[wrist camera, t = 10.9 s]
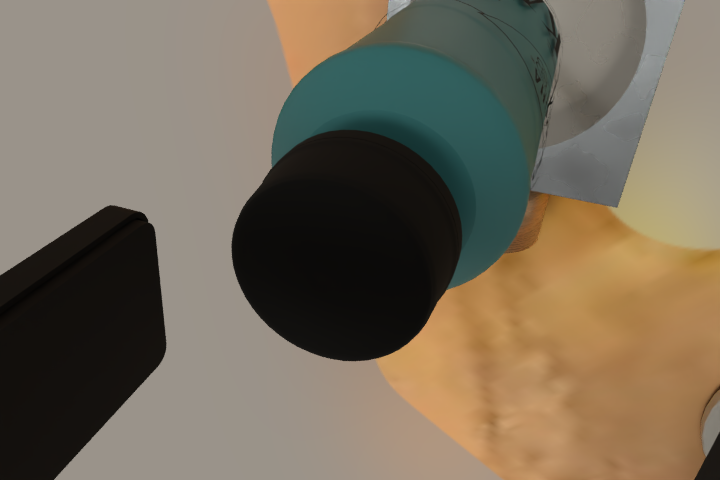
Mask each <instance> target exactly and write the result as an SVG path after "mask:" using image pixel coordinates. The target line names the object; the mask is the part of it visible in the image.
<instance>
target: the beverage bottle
mask: <svg viewBox="0 0 720 480" xmlns="http://www.w3.org/2000/svg"><path fill="white" fill-rule="evenodd" d="M409 1H410V0H409ZM545 1H546V0H545ZM547 1H548V0H547ZM547 1H546V3H547ZM410 2H412V0H411V1H410ZM406 3H407V2H406ZM402 4H403V3H402ZM404 4H405V2H404ZM404 4H403V5H404ZM547 4H548V3H547ZM549 4H550V3H549ZM401 6H402V5H401ZM551 7H552V6H551ZM398 8H399V7H398ZM396 9H397V8H396ZM396 9H395V10H396ZM550 9H551V8H550ZM551 10H552V9H551ZM393 11H394V10H393ZM391 12H392V11H391ZM391 12H390V13H391ZM554 12H555V11H554ZM554 12H553V14H554ZM387 14H389V12H388V13H387ZM387 14H386V15H387ZM386 15H385V16H386ZM385 16H384V17H385ZM384 17H383V18H384ZM556 17H557V16H556ZM556 17H555V18H556ZM383 18H382V19H383ZM553 18H554V17H553V15H552V13H551V11H550V10H549V8H548V7H547V5H546V4H545V2H544V1H543V0H416V1H414V2H412V3H411V4H410V5H408V6H406V7H405V8H403V9H402V10H400V11H399V12H397V13H396V14H395V15H393V16H392V17H391V18H389V19H387V21H386V22H385V23H384V24H383V25H381V26H380V27H378V28H377V29H376V28H375V30H374V31H372V32H371V33H370V34H368V35H367V36H365V37H364V38H362V39H361V40H359V41H358V42H356V43H355V44H353V45H352V46H351V47H349V48H348V49H346V50H344V51H342V52H340V53H337V54H335V55H333V56H331V57H329V58H328V59H326V60H325V61H323V62H322V63H320V64H319V65H317V66H316V67H315V68H313V69H312V70H311V71H310V72H309V73H308V74H307V75H306V76H304V77H303V78H302V79H301V81H300V82H299V83H298V84H297V85H296V86H295V88H294V89H293V90H292V92H291V93H290V95H289V97H288V98H287V100H286V101H285V103H284V105H283V107H282V110H281V112H280V114H279V117H278V120H277V124H276V127H275V131H274V136H273V143H272V169H271V170H270V171H269V173H268V175H267V176H266V177H265V179H264V180H263V183H262V184H261V185H260V187H259V188H258V189H257V190H256V191H255V193H254V194H253V195H252V196H251V197H250V199H249V200H248V201H247V202H246V204H245V206H244V207H243V209H242V210H241V213H240V215H239V217H238V219H237V222H236V224H235V228H234V232H233V238H232V260H233V266H234V270H235V274H236V277H237V280H238V282H239V284H240V287H241V289H242V291H243V293H244V295H245V297H246V299H247V300H248V302H249V303H250V305H251V306H252V308H253V309H254V310H255V312H256V313H257V314H258V315H259V316H260V318H261V319H262V320H263V321H264V322H265V323H266V324H267V325H268V326H269V327H270V328H272V329H273V330H274V331H275V332H276V333H278V334H279V335H280V336H282V337H283V338H284V339H286V340H287V341H289V342H291V343H292V344H294V345H296V346H297V347H299V348H301V349H304V350H306V351H308V352H311V353H314V354H316V355H319V356H322V357H326V358H330V359H336V360H342V361H364V360H371V359H376V358H380V357H383V356H386V355H389V354H391V353H393V352H395V351H397V350H399V349H401V348H402V347H403V346H405V345H406V344H408V343H409V342H410V341H411V340H412V339H413V338H414V337H415V336H416V335H417V334H418V333H419V332H420V331H421V330H422V328H423V327H424V326H425V324H426V323H427V321H428V319H429V317H430V315H431V313H432V311H433V310H434V308H435V306H436V304H437V302H438V301H439V299H440V298H441V297H442V295H443V294H444V293H445V291H446V290H448V289H451V288H454V287H456V286H459V285H462V284H464V283H466V282H468V281H470V280H472V279H474V278H475V277H477V276H478V275H480V274H481V273H483V272H484V271H486V270H487V269H488V268H489V267H490V266H491V265H493V264H494V263H495V262H496V261H497V260H498V259H499V258H500V257H501V256H502V255H503V254H504V252H505V251H506V250H507V249H508V248H509V246H510V245H511V243H512V241H513V240H514V238H515V237H516V235H517V233H518V231H519V229H520V227H521V224H522V222H523V219H524V216H525V212H526V209H527V205H528V200H529V194H530V190H531V189H532V188H533V187H532V188H531V189H530V187H531V177H532V173H533V170H534V166H535V162H536V160H537V159H536V158H538V157H537V152H538V148H539V143H540V138H541V134H542V131H543V130H542V129H544V128H543V125H544V120H545V116H546V118H547V113H548V107H549V105H552V103H554V102H553V101H552V102H551V100H552V96H553V94H552V96H550V93H551V88H554V89H553V90H555V87H556V84H557V82H556V81H557V80H558V79H557V80H556V79H555V82H556V84H555V87H553V86H554V85H552V84H553V79H554V77H555V76H556V73H555V70H556V67H557V66H556V65H558V63H557V60H558V53H559V48H560V43H561V40H562V38H561V39H560V34H561V33H562V32H561V33H560V34H559V33H558V32H557V28H556V24H555V21H554V20H555V19H553ZM382 19H381V20H382ZM557 19H558V18H557ZM379 23H380V22H379ZM557 23H558V22H557ZM559 25H560V24H559ZM377 26H378V25H377ZM560 29H561V28H560ZM560 29H559V30H560ZM559 30H558V31H559ZM562 41H563V40H562ZM561 47H562V46H561ZM560 61H561V60H560ZM561 62H562V61H561ZM559 67H560V63H559ZM559 72H560V71H559ZM554 74H555V75H554ZM558 75H559V74H558ZM558 77H559V76H558ZM553 93H554V91H553ZM549 97H550V101H549ZM554 98H555V95H554V96H553V100H554ZM548 102H549V103H548ZM551 111H552V110H551V109H550V112H551ZM546 112H547V113H546ZM550 112H549V114H550ZM550 115H551V114H550ZM549 121H550V120H549ZM545 123H546V124H545V126H547V127H548V128H549V124H548V120H547V121H546V122H545ZM548 128H547V129H548ZM547 134H548V132H547V131H546V137H547ZM544 137H545V136H544ZM544 137H543V138H544ZM544 143H545V141H544ZM544 143H543V144H544ZM545 144H546V143H545ZM544 147H545V146H544ZM544 149H545V148H544ZM541 150H542V149H541ZM541 150H540V151H541ZM543 152H544V151H543V150H542V156H543ZM539 153H540V152H539ZM539 155H540V154H539ZM541 159H542V158H540V161H541ZM540 163H541V165H542V162H540ZM540 163H538V164H539V166H540ZM536 168H537V169H538V168H539V167H538V165H537V167H536ZM535 170H536V169H535ZM536 173H537V171H536ZM534 174H535V171H534V173H533V178H532V181H533V179H534V178H535V177H534ZM537 179H538V178H537ZM534 184H535V183H534ZM533 186H534V185H533Z"/></svg>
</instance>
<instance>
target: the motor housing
mask: <svg viewBox="0 0 720 480" xmlns="http://www.w3.org/2000/svg"><path fill="white" fill-rule="evenodd" d="M410 1H411V0H410ZM410 1H409V0H389V3H388V12H389V14H387V19H389V18H391V17H392V16H393V15H395V14H396V13H397V12H399V11H400V10H402V9H403V8H405V7H406V6H408V5H410V4H411V3H412V2H414V1H416V0H412V2H410ZM543 1H544V2H545V4H546V5H547V7H548V8H549V10H550V11H551V13H552V15H553V17H554V18H553V19H555V20H554V21H555V24H556V28H557V32H558V33H559V34H560V33H561V32H562V33H561V34H560V39H561V38H562V40H563V41H562V40H561V43H560V48H559V53H558V60H557V63H558V65H556V66H557V67H556V70H555V73H556V76H555V77H554V79H553V84H552V85H554V86H553V87H555V84H556V82H557V84H556V87H555V90H553V89H554V88H551V93H550V96H552V94H553V96H554V95H555V98H554V100H553V96H552V100H551V102H552V101H553V102H554V103H552V105H549V107H548V113H547V112H546V113H547V118H546V116H545V120H544V125H543V128H544V129H542V130H543V131H542V134H541V138H540V143H539V148H538V152H537V157H538V158H536V159H537V160H536V162H535V166H534V170H533V173H534V171H535V174H534V177H535V178H534V179H533V181H532V178H533V173H532V177H531V187H530V189H531V188H532V187H533V188H532V189H531V190H530V194H529V200H528V205H527V209H526V212H525V216H524V219H523V222H522V224H521V227H520V229H519V231H518V233H517V235H516V237H515V238H514V240H513V241H512V243H511V245H510V246H509V248H508V249H507V250H506V251H505V252H504V253H513V252H519V251H522V250H525V249H527V248H529V247H531V246H532V245H533V244H534V243H535V242H536V241H537V239H538V236H539V232H540V228H541V225H542V221H543V217H544V213H545V209H546V205H547V201H548V198H549V194H551V195H556V196H561V197H566V198H571V199H576V200H581V201H586V202H591V203H596V204H602V205H607V206H612V207H618V204H619V201H620V198H621V195H622V192H623V189H624V186H625V183H626V180H627V177H628V174H629V171H630V167H631V164H632V161H633V158H634V155H635V152H636V149H637V146H638V143H639V140H640V137H641V134H642V131H643V128H644V125H645V122H646V118H647V115H648V112H649V109H650V106H651V103H652V100H653V97H654V93H655V91H656V88H657V85H658V82H659V79H660V76H661V73H662V69H663V66H664V63H665V60H666V57H667V54H668V51H669V48H670V45H671V42H672V39H673V36H674V33H675V29H676V27H677V23H678V20H679V17H680V14H681V11H682V8H683V5H684V2H685V0H548V1H547V0H546V1H547V3H548V4H547V3H546V1H545V0H543ZM404 2H405V4H404ZM406 2H407V3H406ZM402 3H403V4H404V5H403V4H402ZM549 3H550V4H549ZM401 5H402V6H401ZM551 6H552V7H551ZM398 7H399V8H398ZM396 8H397V9H396ZM550 8H551V9H552V10H551V9H550ZM395 9H396V10H395ZM393 10H394V11H393ZM391 11H392V12H391ZM554 11H555V12H554ZM390 12H391V13H390ZM553 12H554V14H553ZM556 16H557V17H556ZM555 17H556V18H555ZM557 18H558V19H557ZM557 22H558V23H557ZM559 24H560V25H559ZM560 28H561V29H560ZM559 29H560V30H559ZM558 30H559V31H558ZM561 46H562V47H561ZM560 60H561V61H562V62H561V61H560ZM559 63H560V67H559ZM559 71H560V72H559ZM558 74H559V75H558ZM554 75H555V74H554ZM558 76H559V77H558ZM555 79H556V80H557V79H558V80H557V81H556V82H555ZM553 91H554V93H553ZM549 101H550V97H549ZM548 103H549V102H548ZM550 109H551V110H552V111H551V112H550ZM549 112H550V114H551V115H550V114H549ZM547 120H548V124H549V128H548V127H547V126H545V124H546V123H545V122H546V121H547ZM549 120H550V121H549ZM547 128H548V129H547ZM546 131H547V132H548V134H547V137H546ZM544 136H545V137H544ZM543 137H544V138H543ZM544 141H545V143H546V144H545V143H544ZM543 143H544V144H543ZM544 146H545V147H544ZM544 148H545V149H544ZM541 149H542V150H543V151H544V152H543V156H542V150H541ZM540 150H541V151H540ZM539 152H540V153H539ZM539 154H540V155H539ZM540 158H542V159H541V161H540ZM540 162H542V165H541V163H540ZM538 163H540V166H539V164H538ZM537 165H538V167H539V168H538V169H537V168H536V167H537ZM535 169H536V170H535ZM536 171H537V173H536ZM537 178H538V179H537ZM534 183H535V184H534ZM533 185H534V186H533Z"/></svg>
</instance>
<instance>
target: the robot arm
mask: <svg viewBox="0 0 720 480" xmlns="http://www.w3.org/2000/svg"><path fill="white" fill-rule="evenodd" d="M165 351H166V336H165V326H164V316H163V306H162V296H161V286H160V276H159V266H158V256H157V246H156V236H155V230H154V227H153V225H152V224H150V223H148V219H147V217H146V216H145V214H143V213H142V212H138V211H134V210H130V209H126V208H122V207H118V206H111V205H110V206H107V207H105V208H104V209H102V210H100V211H99V212H97V213H96V214H94V215H93V216H91V217H90V218H88V219H86V220H85V221H83V222H82V223H80V224H79V225H77V226H76V227H74V228H72V229H71V230H70V231H68V232H67V233H65V234H64V235H62V236H60V237H59V238H57V239H56V240H54V241H53V242H51V243H49V244H48V245H46V246H45V247H43V248H42V249H40V250H39V251H37V252H36V253H34V254H33V255H31V256H30V257H28V258H26V259H25V260H23V261H22V262H20V263H19V264H17V265H16V266H14V267H13V268H11V269H10V270H8V271H7V272H5V273H3V274H2V275H0V480H54V479H55V478H56V477H57V476H58V474H59V473H60V472H61V471H62V470H63V469H64V468H65V467H66V465H68V464H69V462H70V461H71V460H72V459H73V458H74V457H75V456H76V455H77V454H78V452H80V450H81V449H82V448H83V447H84V446H85V445H86V444H87V443H88V442H89V441H90V440H91V438H92V437H93V436H94V435H95V434H96V433H97V432H98V431H99V430H100V429H101V428H102V427H103V425H104V424H105V423H106V422H107V421H108V420H109V419H110V418H111V417H112V416H113V415H114V414H115V412H116V411H117V410H118V409H119V408H120V407H121V406H122V405H123V404H124V402H125V401H126V400H127V399H128V398H129V397H130V396H131V395H132V394H133V393H134V392H135V391H136V390H137V388H138V387H139V386H140V385H141V384H142V383H143V382H144V381H145V380H146V379H147V377H149V375H150V374H151V373H152V372H153V371H154V370H155V369H156V368H157V367H158V366H159V364H160V363H161V361H162V359H163V357H164V355H165ZM700 435H701V440H702V446H703V451H704V454H705V457H706V459H705V461H704V462H703V464H702V466H701V468H700V470H699V472H698V474H697V476H696V478H695V480H720V389H719V390H718V391H717V392H716V393H715V394H714V396H713V397H712V399H711V400H710V402H709V403H708V405H707V406H706V408H705V411H704V414H703V417H702V419H701V432H700Z"/></svg>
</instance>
